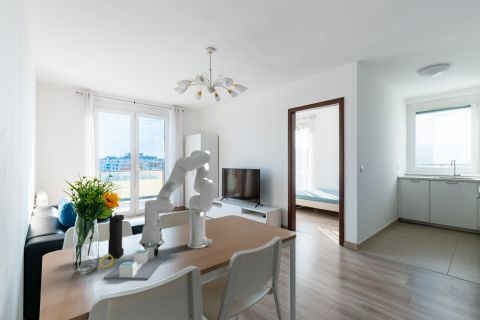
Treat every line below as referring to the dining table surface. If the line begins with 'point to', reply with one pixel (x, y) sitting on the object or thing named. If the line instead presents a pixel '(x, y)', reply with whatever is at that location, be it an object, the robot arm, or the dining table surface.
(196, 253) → the dining table surface
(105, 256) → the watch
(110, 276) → the board
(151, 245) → the module block
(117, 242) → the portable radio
